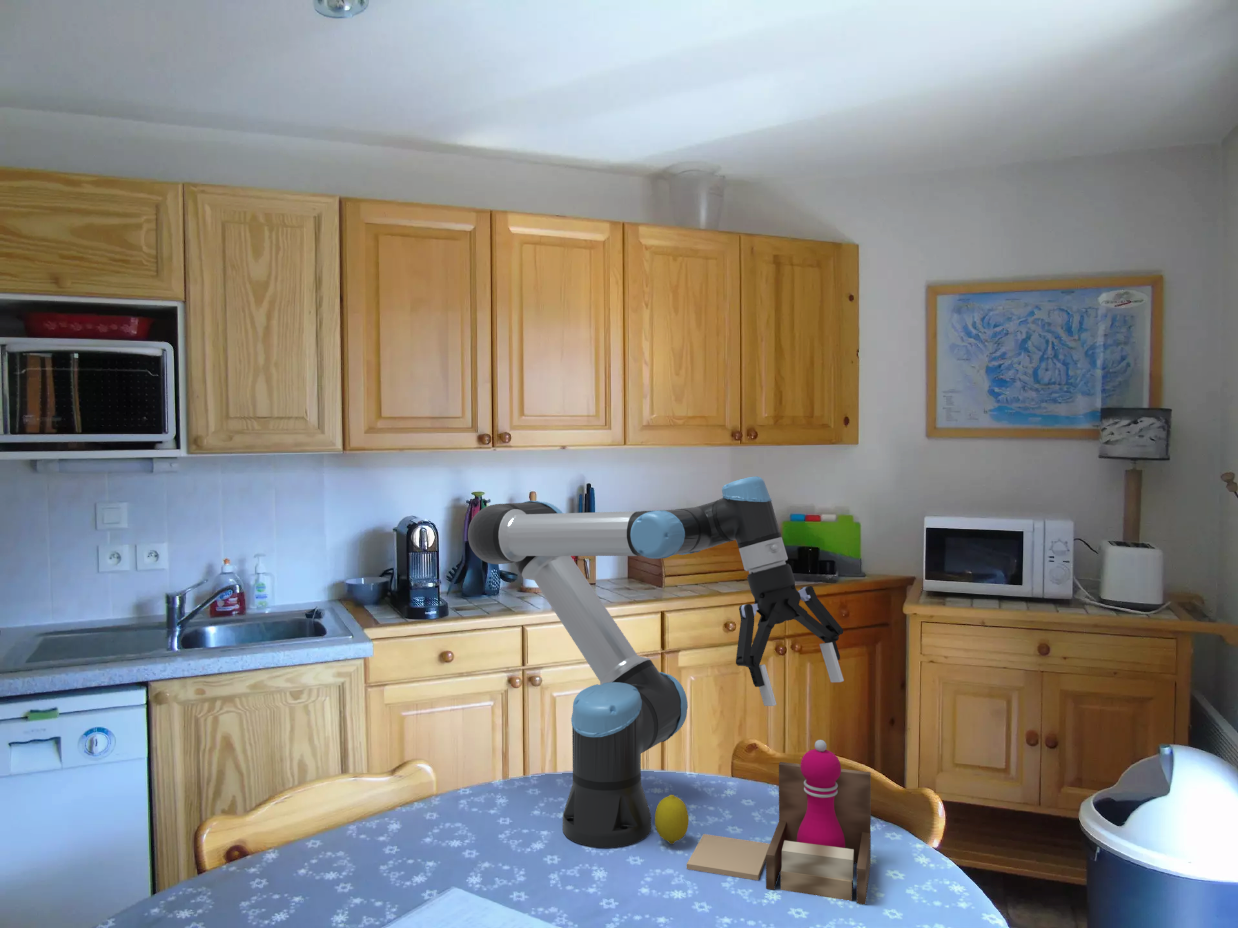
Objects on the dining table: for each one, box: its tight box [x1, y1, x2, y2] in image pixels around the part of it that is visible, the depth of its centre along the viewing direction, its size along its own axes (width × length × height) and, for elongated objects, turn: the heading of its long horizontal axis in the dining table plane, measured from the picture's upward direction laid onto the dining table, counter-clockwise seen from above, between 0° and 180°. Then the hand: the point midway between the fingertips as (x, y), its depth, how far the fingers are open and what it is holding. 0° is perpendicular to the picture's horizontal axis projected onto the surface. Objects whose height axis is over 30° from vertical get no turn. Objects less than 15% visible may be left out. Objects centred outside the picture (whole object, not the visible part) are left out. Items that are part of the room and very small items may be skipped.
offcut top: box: [782, 840, 855, 882], centre depth 124 cm, size 10×4×3 cm, turn 73°
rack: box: [765, 761, 872, 905], centre depth 128 cm, size 14×14×14 cm
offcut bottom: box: [780, 868, 854, 902], centre depth 124 cm, size 10×4×3 cm, turn 71°
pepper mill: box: [797, 739, 845, 848], centre depth 129 cm, size 7×7×20 cm
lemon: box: [654, 794, 690, 845], centre depth 139 cm, size 6×6×8 cm
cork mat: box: [686, 833, 770, 881], centre depth 134 cm, size 11×11×1 cm
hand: (804, 693), depth 140 cm, fingers open, 13 cm apart
